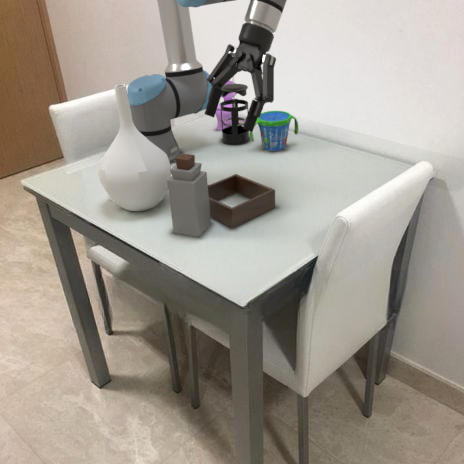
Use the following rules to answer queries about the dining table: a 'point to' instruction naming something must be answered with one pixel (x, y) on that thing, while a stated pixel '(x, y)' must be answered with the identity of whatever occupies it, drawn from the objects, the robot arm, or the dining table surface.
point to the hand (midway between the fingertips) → (227, 123)
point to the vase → (133, 164)
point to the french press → (234, 116)
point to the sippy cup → (274, 129)
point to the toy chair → (224, 113)
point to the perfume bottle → (189, 196)
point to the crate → (235, 216)
